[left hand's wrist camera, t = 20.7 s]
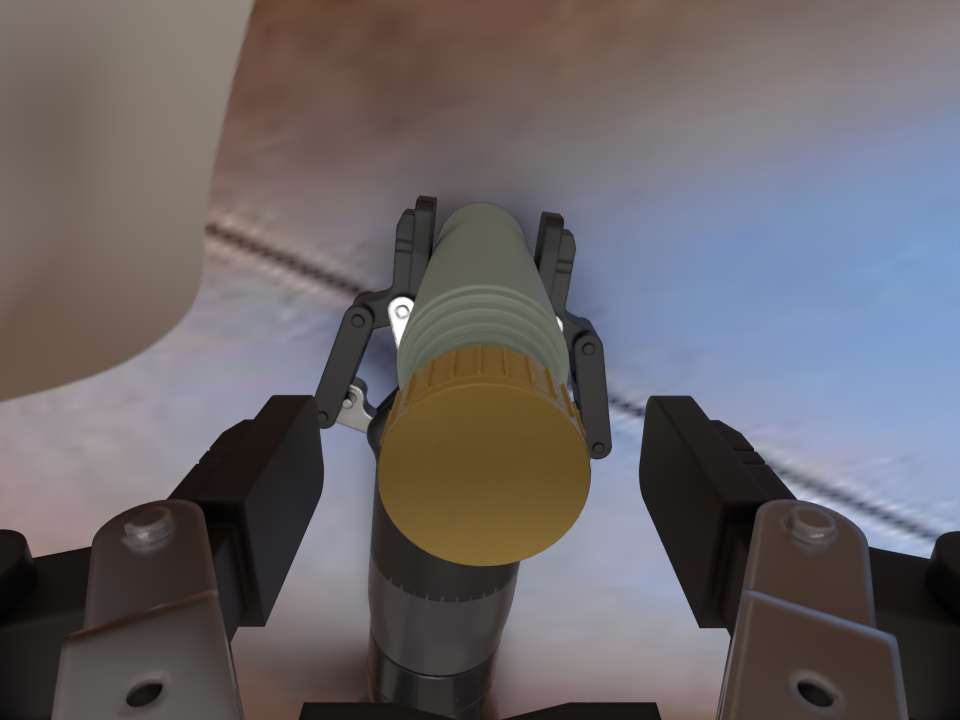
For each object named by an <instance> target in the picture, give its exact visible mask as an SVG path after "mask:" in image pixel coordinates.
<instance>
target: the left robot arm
mask: <svg viewBox="0 0 960 720" xmlns="http://www.w3.org/2000/svg"><path fill="white" fill-rule="evenodd" d="M323 481H324V464H323V455H322V446H321V437H320V428H319V419H318V410H317V404H316V401H315V398H314V397H313V396H312V395H273V396H272V397H271V398H270V399H269V400H268V402H267V403H266V404H265V405H264V407H263V408H262V409H261V411H260V412H259V413H258V414H257V416H256V417H255V418H254V420H243V421H241V422H240V423H238V424H236V425H235V426H233V427H231V428H229V429H228V430H226V431H224V432H223V433H222V434H221V435H220V436H219V438H218V439H217V440H216V441H215V442H214V443H213V445H212V446H211V447H210V451H207V452H206V453H205V454H204V455H203V457H202V458H201V459H200V460H199V464H196V465H195V466H194V467H193V468H192V470H191V471H190V472H189V473H188V474H187V476H186V477H185V478H184V479H183V480H182V482H181V483H180V484H179V485H178V486H177V487H176V489H175V490H174V491H173V492H172V493H171V495H170V496H169V497H168V498H167V499H166V500H159V501H154V502H149V503H146V504H142V505H139V506H136V507H134V508H131V509H129V510H127V511H125V512H122V513H121V514H119V515H117V516H115V517H114V518H112V519H111V520H110V521H108V522H107V523H106V524H105V525H103V526H102V527H101V528H100V530H99V531H98V532H97V533H96V535H95V537H94V538H93V542H92V546H91V547H86V548H82V549H77V550H71V551H66V552H61V553H56V554H51V555H46V556H41V557H36V558H32V555H31V552H30V549H29V546H28V543H27V540H26V538H25V537H24V535H22V534H21V533H19V532H16V531H13V530H6V529H0V720H245V718H244V713H243V708H242V702H241V697H240V691H239V686H238V680H237V675H236V669H235V664H234V659H233V654H232V649H231V644H230V643H231V640H232V638H233V636H234V634H235V632H236V630H237V628H238V627H265V625H266V622H267V620H268V618H269V615H270V613H271V611H272V608H273V606H274V604H275V601H276V599H277V597H278V594H279V592H280V590H281V588H282V585H283V583H284V581H285V578H286V576H287V574H288V571H289V569H290V567H291V564H292V562H293V560H294V557H295V555H296V553H297V550H298V548H299V546H300V543H301V541H302V539H303V536H304V534H305V532H306V529H307V527H308V525H309V522H310V520H311V518H312V516H313V513H314V511H315V509H316V506H317V504H318V502H319V499H320V497H321V493H322V489H323ZM639 482H640V489H641V494H642V497H643V500H644V502H645V505H646V507H647V509H648V511H649V514H650V516H651V518H652V521H653V523H654V525H655V527H656V530H657V532H658V534H659V537H660V539H661V541H662V543H663V546H664V548H665V550H666V553H667V555H668V557H669V559H670V562H671V564H672V566H673V569H674V571H675V573H676V575H677V578H678V580H679V582H680V585H681V587H682V589H683V591H684V594H685V596H686V598H687V600H688V603H689V605H690V607H691V610H692V612H693V614H694V616H695V619H696V621H697V623H698V626H699V628H727V630H728V632H729V635H730V637H731V639H730V644H729V649H728V654H727V659H726V664H725V669H724V675H723V680H722V686H721V691H720V697H719V702H718V707H717V713H716V718H715V720H960V531H954V532H948V533H945V534H943V535H941V536H940V537H939V538H938V539H937V540H936V543H935V546H934V549H933V552H932V555H931V558H930V559H927V558H922V557H917V556H912V555H907V554H902V553H897V552H892V551H887V550H881V549H877V548H873V547H869V546H868V542H867V538H866V537H865V535H864V533H863V532H862V531H861V530H860V528H859V527H858V526H857V525H855V524H854V523H853V522H852V521H850V520H849V519H848V518H846V517H845V516H843V515H841V514H839V513H838V512H835V511H833V510H831V509H829V508H826V507H824V506H821V505H818V504H814V503H811V502H806V501H801V500H797V499H796V497H795V496H794V495H793V494H792V493H791V492H790V490H789V489H788V488H787V487H786V486H785V484H784V483H783V482H782V481H781V480H780V479H779V477H778V476H777V475H776V474H775V473H774V472H773V470H772V469H771V468H770V467H769V466H768V465H765V461H764V460H763V459H762V457H761V456H760V455H759V454H758V453H757V452H754V448H753V447H752V446H751V445H750V443H749V442H748V441H747V440H746V439H745V437H744V436H743V435H742V434H741V433H740V432H738V431H736V430H735V429H733V428H731V427H729V426H728V425H726V424H724V423H723V422H721V421H719V420H709V418H708V417H707V416H706V414H705V413H704V412H703V411H702V409H701V408H700V407H699V405H698V404H697V403H696V402H695V400H694V399H693V398H692V397H691V396H650V397H649V399H648V402H647V405H646V412H645V421H644V429H643V438H642V447H641V456H640V465H639ZM299 720H458V719H454V718H450V717H446V716H442V715H438V714H434V713H430V712H426V711H422V710H418V709H414V708H410V707H406V706H402V705H398V704H395V703H391V702H304V704H303V707H302V711H301V714H300V717H299ZM502 720H661V717H660V714H659V711H658V707H657V704H656V702H569V703H565V704H562V705H558V706H554V707H550V708H546V709H542V710H538V711H534V712H530V713H526V714H522V715H518V716H514V717H510V718H506V719H502Z"/></svg>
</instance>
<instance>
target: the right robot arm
mask: <svg viewBox="0 0 960 720" xmlns="http://www.w3.org/2000/svg"><path fill="white" fill-rule="evenodd" d="M436 207H437V198H436V197H428V196H419V197H418V199H417V201H416V207H415V210H413V209H406V210H405V211H404V213H403V214H402V216H401V218H400V220H399V222H398V224H397V230H396V244H395V258H394V272H393V284H392V286H391V287H390V288H389V289H387V290H383V291H379V292H374V293H373V292H370V291H365V292H362V293H360V294H359V295H358V296H357V297H356V299H355V300H354V302H353V305H352V306H350V307H349V308H348V310H347V311H346V312H345V314H344V317H343V320H342V322H341V325H340V328H339V331H338V333H337V336H336V339H335V342H334V344H333V347H332V350H331V353H330V355H329V358H328V361H327V364H326V367H325V369H324V372H323V375H322V378H321V380H320V383H319V386H318V389H317V391H316V394H315V397H314V398H315V401H316V404H317V410H318V419H319V428H321V429H327V428H330V427H331V426H333V425H334V423H335V422H336V423H339V424H341V425H344V426H347V427H350V428H352V429H355V430H358V431H360V432H363V433H366V434H367V439H368V443H369V445H370V446H371V448H372V450H373V452H374V455H375V458H376V476H375V491H374V505H373V519H372V534H371V549H370V563H369V577H368V597H369V606H370V631H369V645H368V659H367V688H368V693H367V694H365V695H364V696H363V697H362V698H361V699H360V700H359V701H358V702H391V703H395V704H398V705H402V706H406V707H410V708H414V709H418V710H422V711H426V712H430V713H434V714H438V715H442V716H446V717H450V718H454V719H458V720H499V714H498V709H497V701H496V695H495V690H494V686H493V679H494V673H495V668H496V662H497V657H498V651H499V646H500V640H501V635H502V631H503V628H504V625H505V623H506V620H507V618H508V615H509V612H510V608H511V605H512V601H513V596H514V591H515V586H516V580H517V575H518V570H519V564H520V561H517V562H513V563H509V564H503V565H496V566H473V565H464V564H459V563H454V562H451V561H447V560H444V559H441V558H439V557H437V556H434V555H432V554H430V553H428V552H426V551H424V550H423V549H421V548H419V547H418V546H417V545H415V544H414V543H412V542H411V541H410V540H409V539H408V538H407V537H406V536H404V535H403V534H402V533H401V532H400V530H399V529H398V528H397V527H396V526H395V524H394V523H393V522H392V520H391V518H390V517H389V515H388V514H387V512H386V509H385V507H384V505H383V503H382V500H381V496H380V493H379V489H378V480H377V469H378V468H377V464H378V461H379V456H380V452H381V448H382V446H379V444H380V440H381V437H382V434H383V431H384V427H385V424H386V421H387V418H388V415H389V412H390V410H392V407H393V404H394V401H395V397H396V394H397V392H398V390H400V388H399V386H398V387H397V388H396V389H395V390H394V391H393V392H392V393H391V394H390V395H389V396H388V397H387V398H386V399H385V400H384V401H383V402H382V403H381V404H380V405H379V406H378V407H377V408H374V407H372V406H371V405H370V404H369V402H368V400H367V392H368V388H367V385H366V383H365V382H364V381H363V380H362V379H360V378H358V377H355V376H356V373H357V371H358V368H359V366H360V363H361V360H362V358H363V355H364V353H365V350H366V347H367V345H368V342H369V340H370V337H371V334H372V332H373V329H377V328H381V327H386V326H390V325H391V327H392V331H393V335H394V339H395V343H396V347H397V351H398V348H399V343H400V340H401V337H402V335H403V332H404V329H405V326H406V324H407V321H408V318H409V316H410V313H411V310H412V308H413V305H414V302H415V299H416V297H417V294H418V291H419V289H420V286H421V283H422V280H423V278H424V275H425V272H426V270H427V267H428V264H429V262H430V259H431V256H432V250H433V239H434V229H435V218H436ZM563 227H564V219H563V217H562V216H561V215H560V214H557V213H550V212H542V215H541V219H540V225H539V231H538V237H537V244H536V250H535V256H534V263H535V265H536V268H537V270H538V273H539V275H540V278H541V280H542V283H543V285H544V288H545V290H546V293H547V295H548V298H549V300H550V303H551V305H552V308H553V311H554V313H555V316H556V318H557V321H558V323H559V326H560V328H561V331H562V333H563V336H564V338H565V341H566V345H567V349H568V352H569V361H570V370H571V379H572V388H573V396H574V402H572V403H575V404H576V407H577V410H578V413H579V416H580V419H581V422H582V425H583V428H584V431H585V434H586V438H584V439H585V442H586V445H587V448H588V451H589V454H590V457H591V458H593V459H602V458H605V457H606V456H607V455H608V454H609V453H610V452H611V449H612V443H611V431H610V420H609V409H608V398H607V387H606V375H605V364H604V353H603V344H602V342H601V340H600V338H599V336H598V335H597V333H596V331H595V329H594V328H593V326H592V324H591V322H590V321H589V320H587V319H585V318H581V317H580V318H579V317H577V316H575V315H573V314H571V313H569V312H567V311H566V310H565V306H566V300H567V294H568V289H569V284H570V278H571V272H572V267H573V262H574V257H575V251H576V246H575V241H574V236H573V234H572V233H571V232H570V231H569V230H568V229H563Z"/></svg>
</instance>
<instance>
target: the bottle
mask: <svg viewBox="0 0 960 720" xmlns="http://www.w3.org/2000/svg"><path fill="white" fill-rule="evenodd" d="M477 345H481V347H486V346H487V347H498V348H502V347H503V346H504V347H507V349H508V350H512V351H515V352H518V353H521V354H524V355H526V354H529V355H530V356H531V358H532V359H534V360H536V361H537V362H538V363H540V364H541V365H543V366H544V367H547V366H548V367H549V368H550V369H551V372H552V374H553V375H554V376H555V377H556V378H557V379H558V380H559V382H560V383H561V384H563V383H564V384H565V385H566V386H567V381H568V371H569V357H568V349H567V345H566V341H565V338H564V336H563V333H562V331H561V328H560V326H559V323H558V321H557V318H556V316H555V313H554V311H553V308H552V305H551V303H550V300H549V298H548V295H547V293H546V290H545V288H544V285H543V283H542V280H541V278H540V275H539V273H538V270H537V268H536V265H535V263H534V260H533V258H532V255H531V252H530V250H529V247H528V245H527V242H526V240H525V237H524V235H523V232H522V230H521V227H520V225H519V224H518V222H517V221H516V219H515V218H514V217H513V216H512V215H511V214H510V213H509V212H508V211H506V210H505V209H503V208H502V207H499V206H497V205H494V204H491V203H472V204H469V205H466V206H463V207H461V208H460V209H458V210H456V211H455V212H454V213H453V214H452V215H451V216H450V217H449V218H448V219H447V220H446V222H445V223H444V225H443V227H442V229H441V232H440V234H439V237H438V240H437V243H436V245H435V248H434V251H433V253H432V256H431V259H430V262H429V264H428V267H427V270H426V272H425V275H424V278H423V280H422V283H421V286H420V289H419V291H418V294H417V297H416V299H415V302H414V305H413V308H412V310H411V313H410V316H409V318H408V321H407V324H406V326H405V329H404V332H403V335H402V337H401V340H400V343H399V348H398V352H397V375H398V383H399V388H400V391H402V389H403V387H404V386H405V385H406V383H407V382H408V380H409V378H410V375H411V373H413V372H414V373H416V372H417V371H418V370H419V369H421V368H422V367H423V366H424V365H426V364H427V363H429V359H431V358H434V359H436V358H437V357H439V356H442V355H444V354H446V353H449V352H452V349H455V348H456V349H457V350H459V349H464V348H470V347H477Z"/></svg>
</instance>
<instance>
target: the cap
mask: <svg viewBox="0 0 960 720" xmlns="http://www.w3.org/2000/svg"><path fill="white" fill-rule="evenodd" d="M584 438H586V434H585V431H584V428H583V425H582V422H581V419H580V416H579V413H578V410H577V407H576V404H575V403H572V402H571V399H570V396H569V393H568V390H567V387H566V385H565V384H564V383H563V384H561V383H560V382H559V380H558V379H557V378H556V377H555V376H554V375H553V374H552V372H551V369H550V368H549V367H548V366H547V367H544V366H543V365H541V364H540V363H538V362H537V361H536V360H534V359H532V358H531V356H530V355H529V354H526V355H524V354H521V353H518V352H515V351H512V350H508V349H507V347H504V346H503V347H502V348H498V347H487V346H486V347H481V345H477V347H470V348H464V349H459V350H457V349H456V348H455V349H452V352H449V353H446V354H444V355H442V356H439V357H437V358H436V359H434V358H431V359H429V363H427V364H426V365H424V366H423V367H422V368H421V369H419V370H418V371H417V372H416V373H414V372H413V373H411V375H410V378H409V380H408V382H407V383H406V385H405V386H404V387H403V389H402V391H400V390H398V392H397V394H396V397H395V401H394V404H393V407H392V410H390V412H389V415H388V418H387V421H386V424H385V427H384V431H383V434H382V437H381V440H380V444H379V446H382V448H381V452H380V456H379V461H378V464H377V468H378V469H377V480H378V489H379V493H380V496H381V500H382V503H383V505H384V507H385V509H386V512H387V514H388V515H389V517H390V518H391V520H392V522H393V523H394V524H395V526H396V527H397V528H398V529H399V530H400V532H401V533H402V534H403V535H404V536H406V537H407V538H408V539H409V540H410V541H411V542H412V543H414V544H415V545H417V546H418V547H419V548H421V549H423V550H424V551H426V552H428V553H430V554H432V555H434V556H437V557H439V558H441V559H444V560H447V561H451V562H454V563H459V564H464V565H473V566H496V565H503V564H509V563H513V562H517V561H521V560H523V559H526V558H529V557H532V556H534V555H536V554H538V553H540V552H542V551H543V550H545V549H547V548H548V547H550V546H551V545H553V544H554V543H555V542H556V541H558V540H559V539H560V538H561V537H562V536H564V534H565V533H566V532H567V531H568V530H569V529H570V528H571V527H572V525H573V524H574V523H575V521H576V520H577V518H578V517H579V515H580V513H581V511H582V509H583V507H584V505H585V502H586V499H587V497H588V493H589V488H590V483H591V467H590V460H591V457H590V454H589V451H588V448H587V445H586V442H585V439H584Z"/></svg>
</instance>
